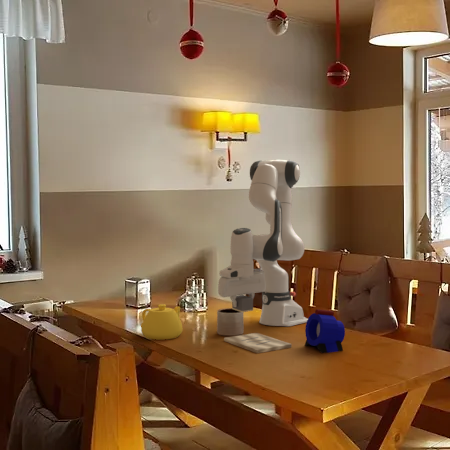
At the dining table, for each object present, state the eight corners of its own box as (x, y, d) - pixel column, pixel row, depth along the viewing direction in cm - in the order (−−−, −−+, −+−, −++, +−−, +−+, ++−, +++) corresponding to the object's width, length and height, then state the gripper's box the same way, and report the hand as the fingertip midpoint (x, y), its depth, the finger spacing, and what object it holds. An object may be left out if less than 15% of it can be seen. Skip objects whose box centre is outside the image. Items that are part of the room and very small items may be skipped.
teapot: (165, 342, 250) (165, 310, 249) (128, 336, 259) (128, 305, 259) (195, 332, 266) (195, 302, 266) (159, 327, 276) (158, 297, 276)
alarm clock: (302, 346, 245) (303, 306, 244) (330, 342, 249) (330, 304, 248) (320, 353, 233) (320, 312, 232) (348, 350, 238) (349, 310, 237)
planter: (249, 333, 265) (249, 310, 264) (231, 338, 257) (231, 314, 256) (229, 329, 272) (229, 306, 271) (211, 333, 264) (211, 310, 264)
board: (257, 335, 261) (257, 332, 261) (291, 347, 242) (291, 344, 242) (223, 340, 252) (223, 337, 252) (257, 353, 234) (257, 350, 234)
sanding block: (242, 307, 255) (242, 294, 254) (253, 310, 249) (252, 297, 248) (232, 309, 252) (232, 296, 252) (242, 312, 246) (242, 299, 246)
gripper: (259, 266, 257) (259, 300, 259) (215, 272, 246) (216, 307, 248) (268, 268, 252) (268, 303, 253) (224, 274, 241) (225, 310, 242)
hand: (242, 305), depth 250 cm, fingers closed on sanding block, 5 cm apart
